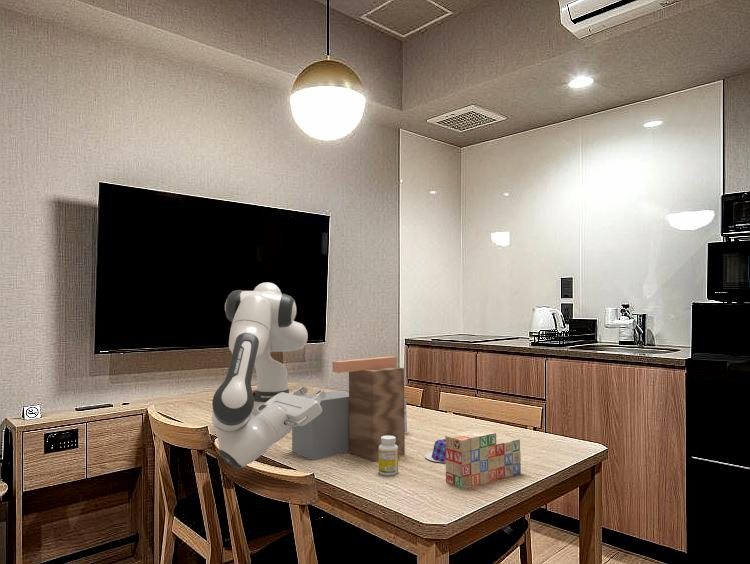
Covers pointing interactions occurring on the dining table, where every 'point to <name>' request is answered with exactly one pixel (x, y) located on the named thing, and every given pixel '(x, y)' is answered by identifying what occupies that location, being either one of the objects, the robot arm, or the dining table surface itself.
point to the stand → (376, 410)
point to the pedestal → (324, 428)
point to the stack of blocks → (480, 457)
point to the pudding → (438, 451)
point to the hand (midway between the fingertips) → (314, 390)
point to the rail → (364, 364)
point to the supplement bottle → (388, 456)
